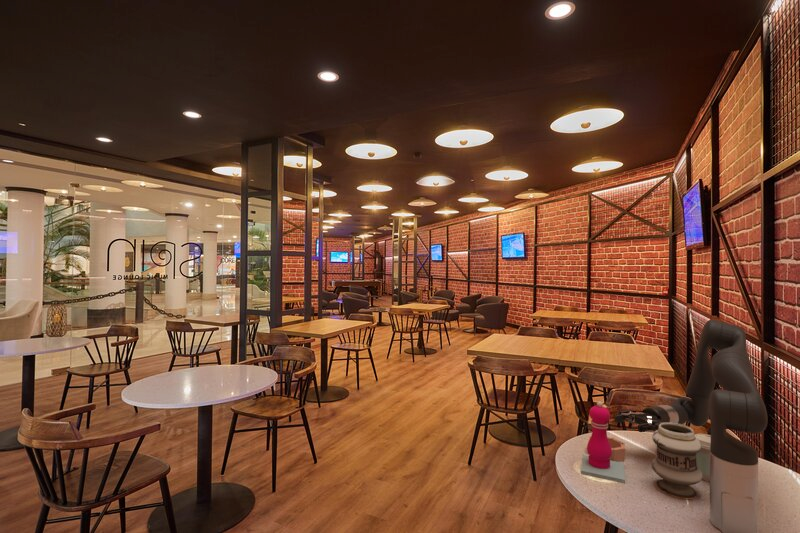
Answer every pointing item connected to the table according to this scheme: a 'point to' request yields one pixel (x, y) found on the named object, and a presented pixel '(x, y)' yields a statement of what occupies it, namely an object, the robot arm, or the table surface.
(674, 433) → the apothecary jar
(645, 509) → the table surface
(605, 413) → the pepper mill
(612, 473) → the board
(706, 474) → the coffee cup
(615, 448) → the holder ring
